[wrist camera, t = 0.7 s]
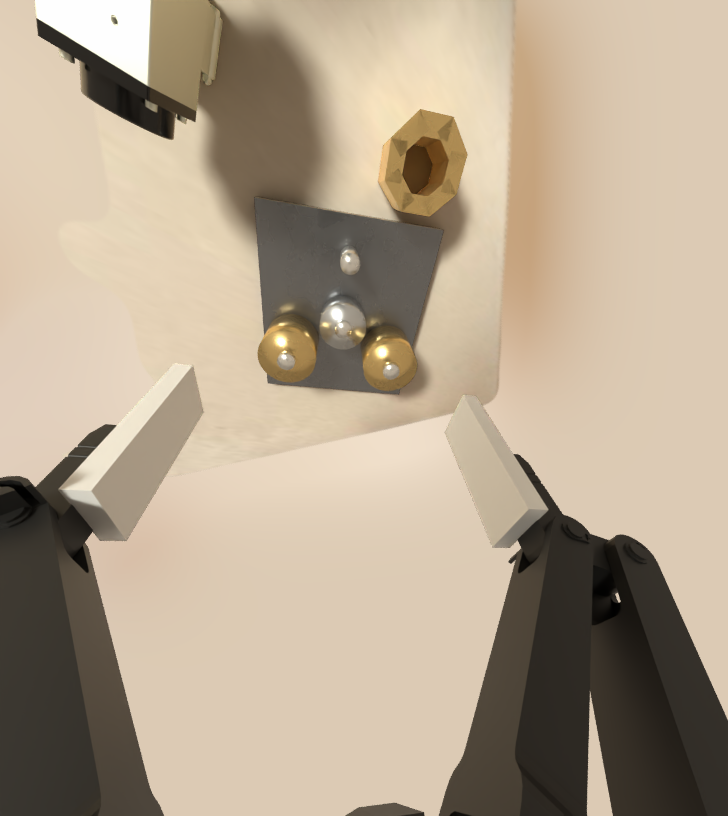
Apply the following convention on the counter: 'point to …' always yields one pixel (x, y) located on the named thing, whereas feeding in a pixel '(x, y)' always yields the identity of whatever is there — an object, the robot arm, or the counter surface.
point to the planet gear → (444, 155)
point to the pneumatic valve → (137, 54)
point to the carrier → (340, 296)
